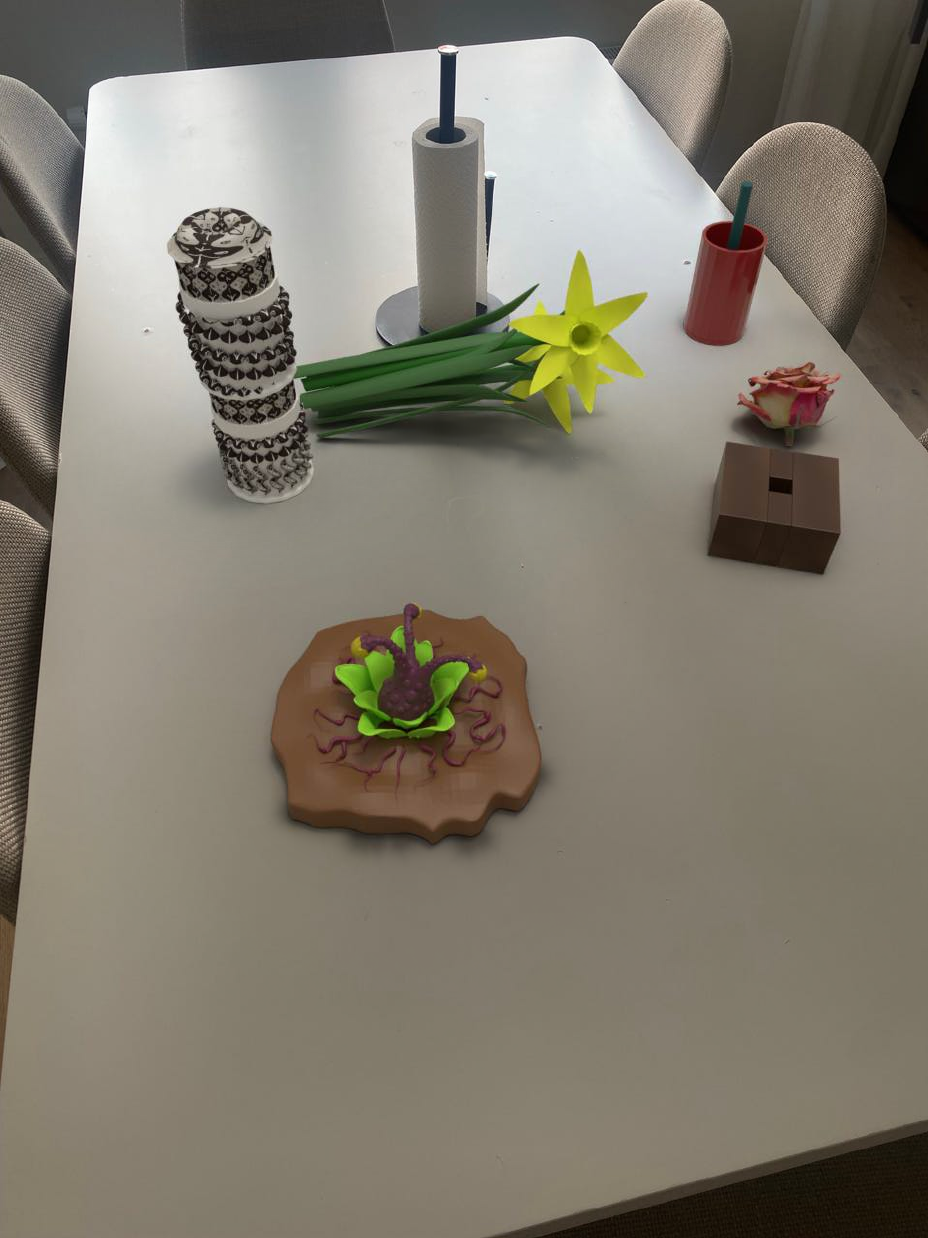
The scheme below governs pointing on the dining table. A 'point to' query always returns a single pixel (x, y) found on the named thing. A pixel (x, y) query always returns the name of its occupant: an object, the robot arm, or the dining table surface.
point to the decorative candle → (243, 351)
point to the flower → (790, 398)
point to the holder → (776, 508)
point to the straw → (739, 215)
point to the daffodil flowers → (481, 363)
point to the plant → (407, 726)
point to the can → (724, 284)
